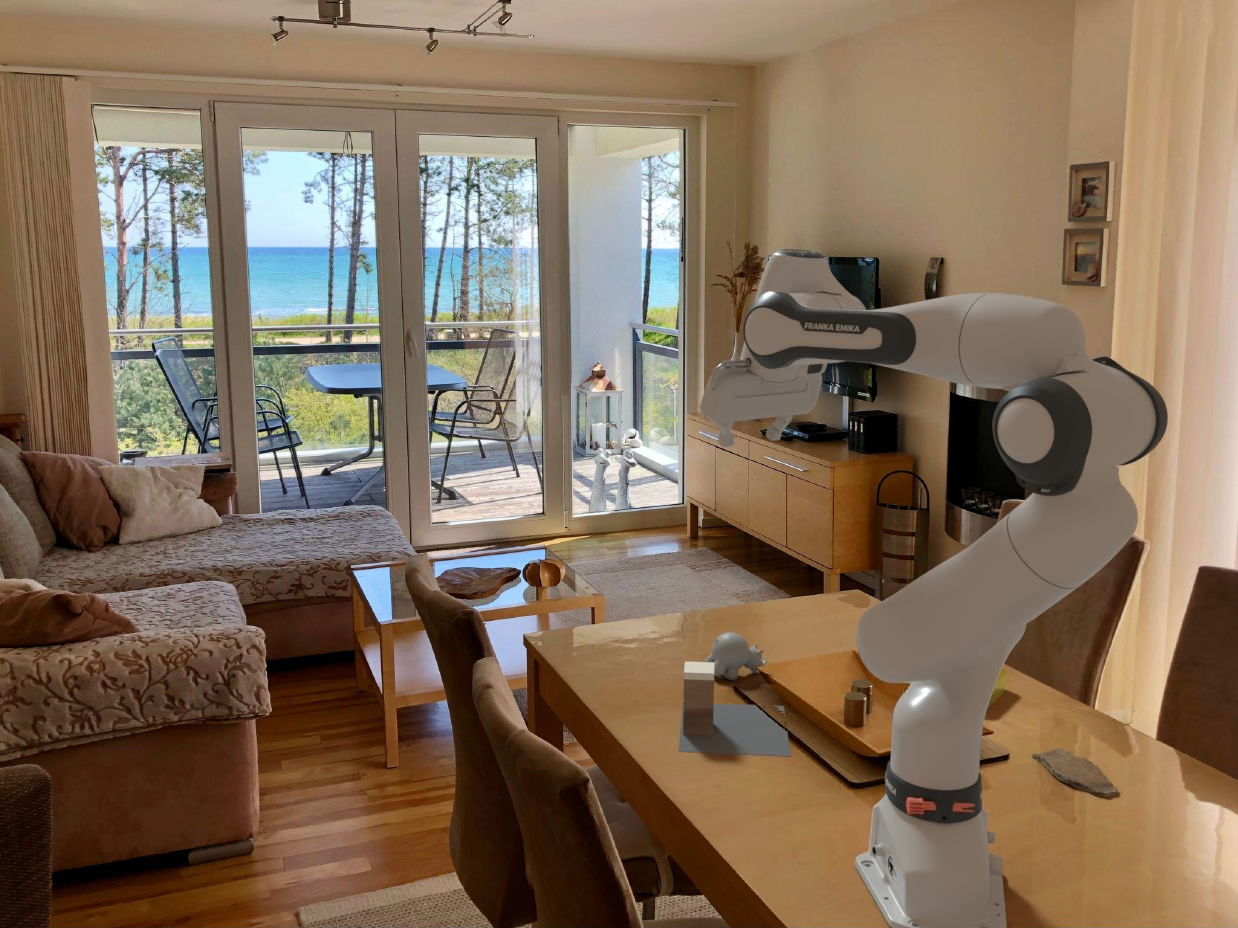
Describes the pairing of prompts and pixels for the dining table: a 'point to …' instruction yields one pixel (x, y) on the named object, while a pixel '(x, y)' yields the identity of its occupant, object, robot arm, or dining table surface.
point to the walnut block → (698, 698)
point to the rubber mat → (739, 733)
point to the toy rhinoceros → (734, 655)
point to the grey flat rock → (1076, 772)
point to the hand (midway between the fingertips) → (749, 441)
